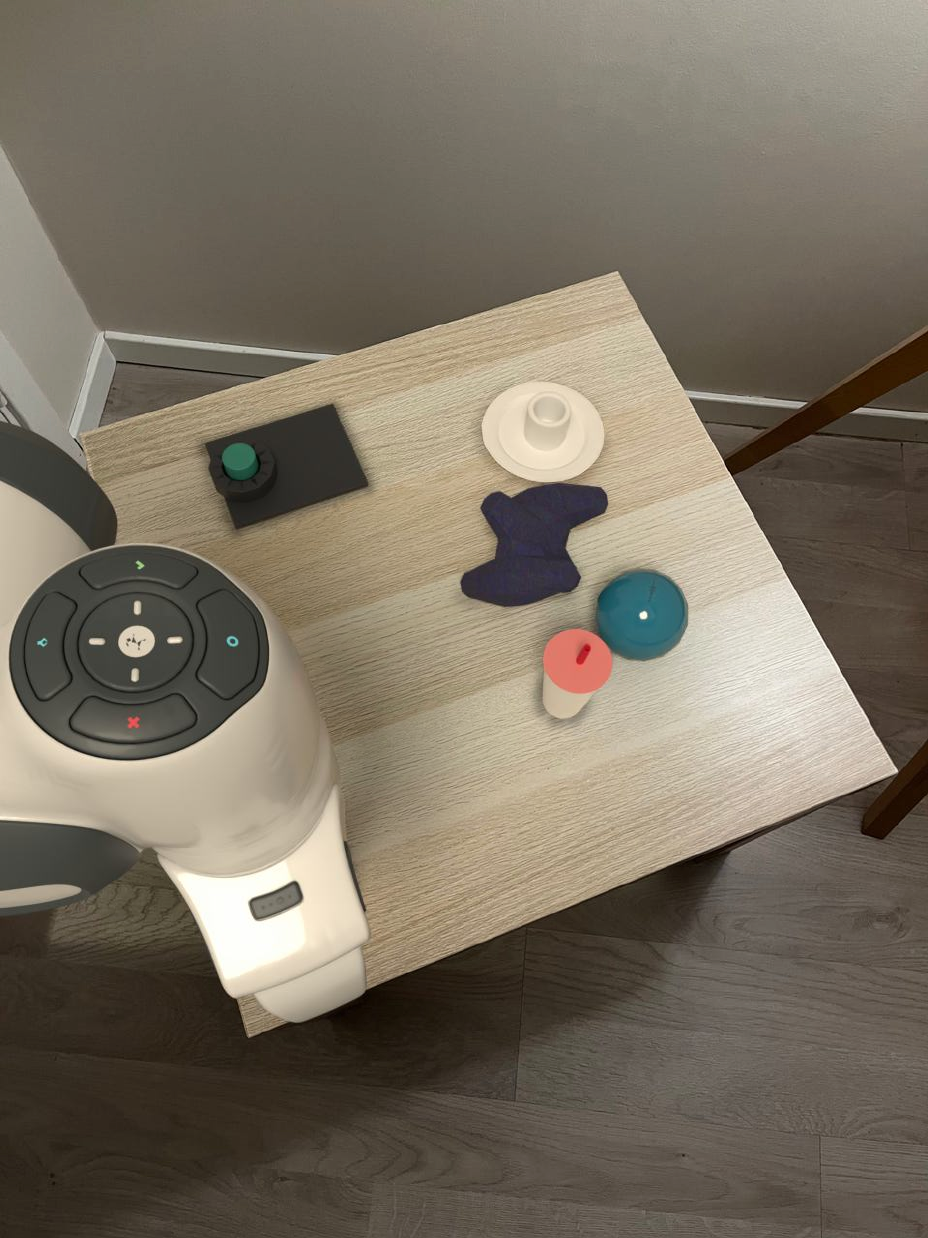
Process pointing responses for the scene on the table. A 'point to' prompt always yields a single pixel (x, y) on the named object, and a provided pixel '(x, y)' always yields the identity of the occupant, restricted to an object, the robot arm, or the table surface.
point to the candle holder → (543, 431)
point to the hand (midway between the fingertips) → (284, 840)
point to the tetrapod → (532, 543)
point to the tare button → (240, 461)
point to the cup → (573, 671)
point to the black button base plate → (288, 466)
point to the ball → (641, 614)
